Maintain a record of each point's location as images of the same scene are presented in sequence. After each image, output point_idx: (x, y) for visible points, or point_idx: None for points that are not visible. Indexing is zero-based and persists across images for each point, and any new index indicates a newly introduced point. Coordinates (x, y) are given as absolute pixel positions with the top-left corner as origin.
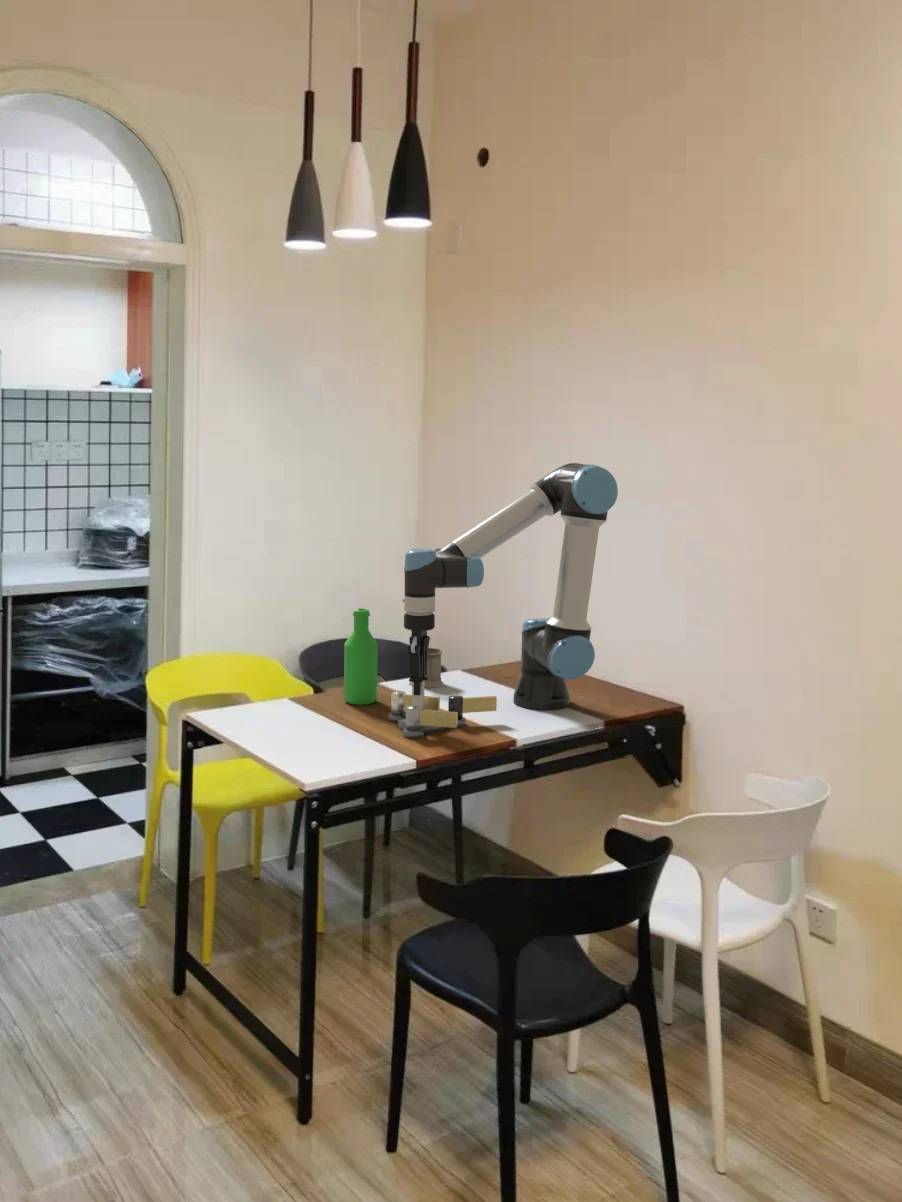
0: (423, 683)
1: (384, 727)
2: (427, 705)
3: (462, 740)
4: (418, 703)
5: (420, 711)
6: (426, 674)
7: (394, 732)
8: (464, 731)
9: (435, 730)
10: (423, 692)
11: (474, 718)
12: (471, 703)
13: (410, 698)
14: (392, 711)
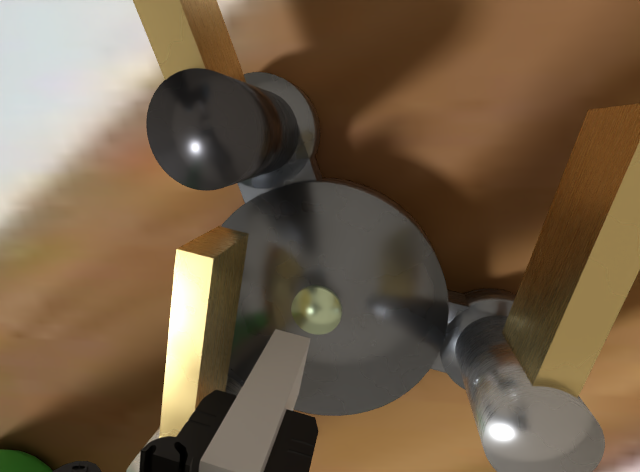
0: (245, 457)
1: (353, 439)
2: (226, 304)
3: (591, 80)
4: (300, 376)
5: (575, 390)
6: (77, 470)
7: (430, 407)
8: (398, 76)
9: (424, 234)
10: (268, 395)
11: (141, 29)
12: (197, 6)
13: None
14: None
